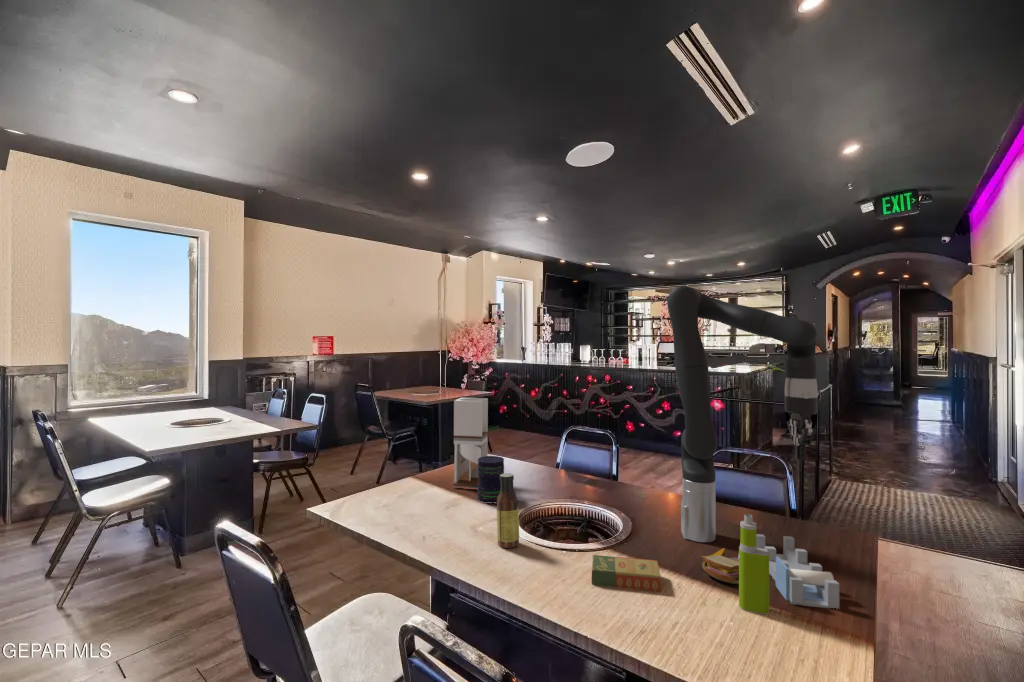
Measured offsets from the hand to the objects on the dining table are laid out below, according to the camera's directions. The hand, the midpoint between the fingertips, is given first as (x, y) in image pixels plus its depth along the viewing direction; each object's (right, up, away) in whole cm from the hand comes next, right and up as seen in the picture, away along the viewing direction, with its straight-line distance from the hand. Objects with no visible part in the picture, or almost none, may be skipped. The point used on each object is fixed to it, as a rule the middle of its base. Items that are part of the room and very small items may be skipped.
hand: (800, 459), depth 125 cm
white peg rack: (-9, -27, -10) cm, 30 cm away
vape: (-25, -27, -24) cm, 43 cm away
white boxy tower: (-94, -27, +64) cm, 117 cm away
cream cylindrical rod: (-10, -24, -18) cm, 32 cm away
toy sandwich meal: (-23, -27, -8) cm, 37 cm away
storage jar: (-85, -27, +47) cm, 101 cm away
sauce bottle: (-79, -27, +8) cm, 84 cm away
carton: (-50, -27, -12) cm, 58 cm away
